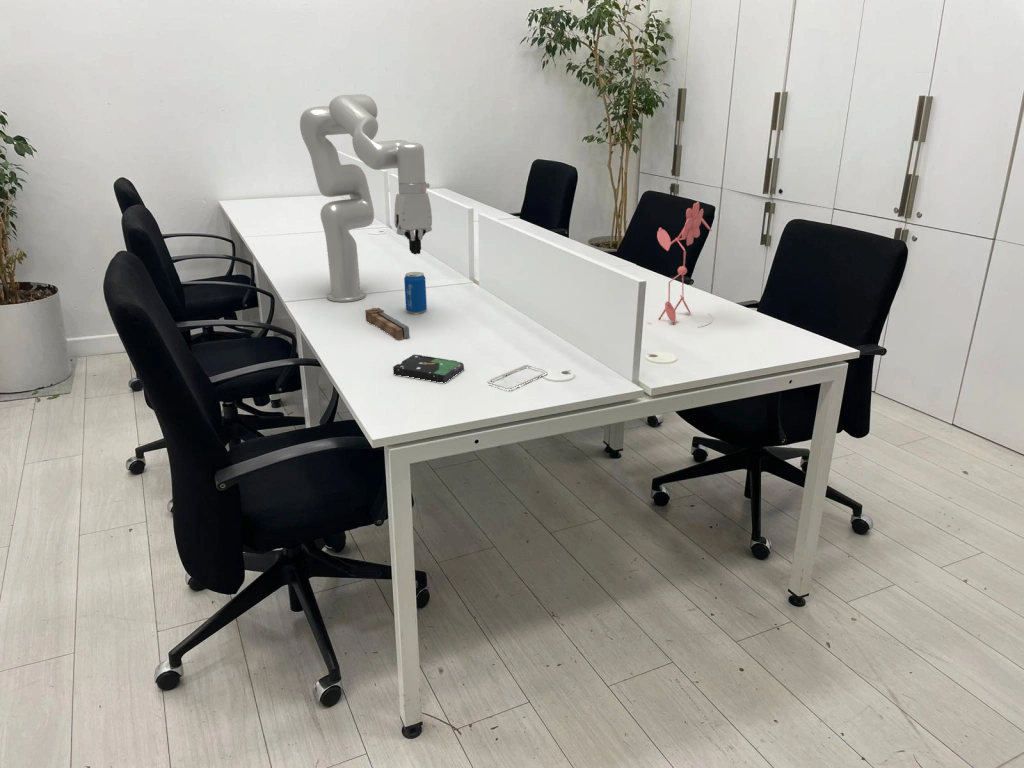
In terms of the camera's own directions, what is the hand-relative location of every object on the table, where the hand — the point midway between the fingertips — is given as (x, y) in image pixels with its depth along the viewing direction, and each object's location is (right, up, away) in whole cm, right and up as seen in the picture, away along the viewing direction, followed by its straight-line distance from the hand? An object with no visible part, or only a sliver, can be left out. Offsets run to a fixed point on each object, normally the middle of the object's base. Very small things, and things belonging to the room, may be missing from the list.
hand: (415, 253), depth 225 cm
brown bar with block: (-8, -22, +1) cm, 24 cm away
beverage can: (-2, -16, +18) cm, 24 cm away
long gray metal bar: (-6, -22, 0) cm, 23 cm away
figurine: (+80, -19, +8) cm, 83 cm away
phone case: (+29, -38, -35) cm, 59 cm away
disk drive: (+7, -36, -30) cm, 48 cm away
